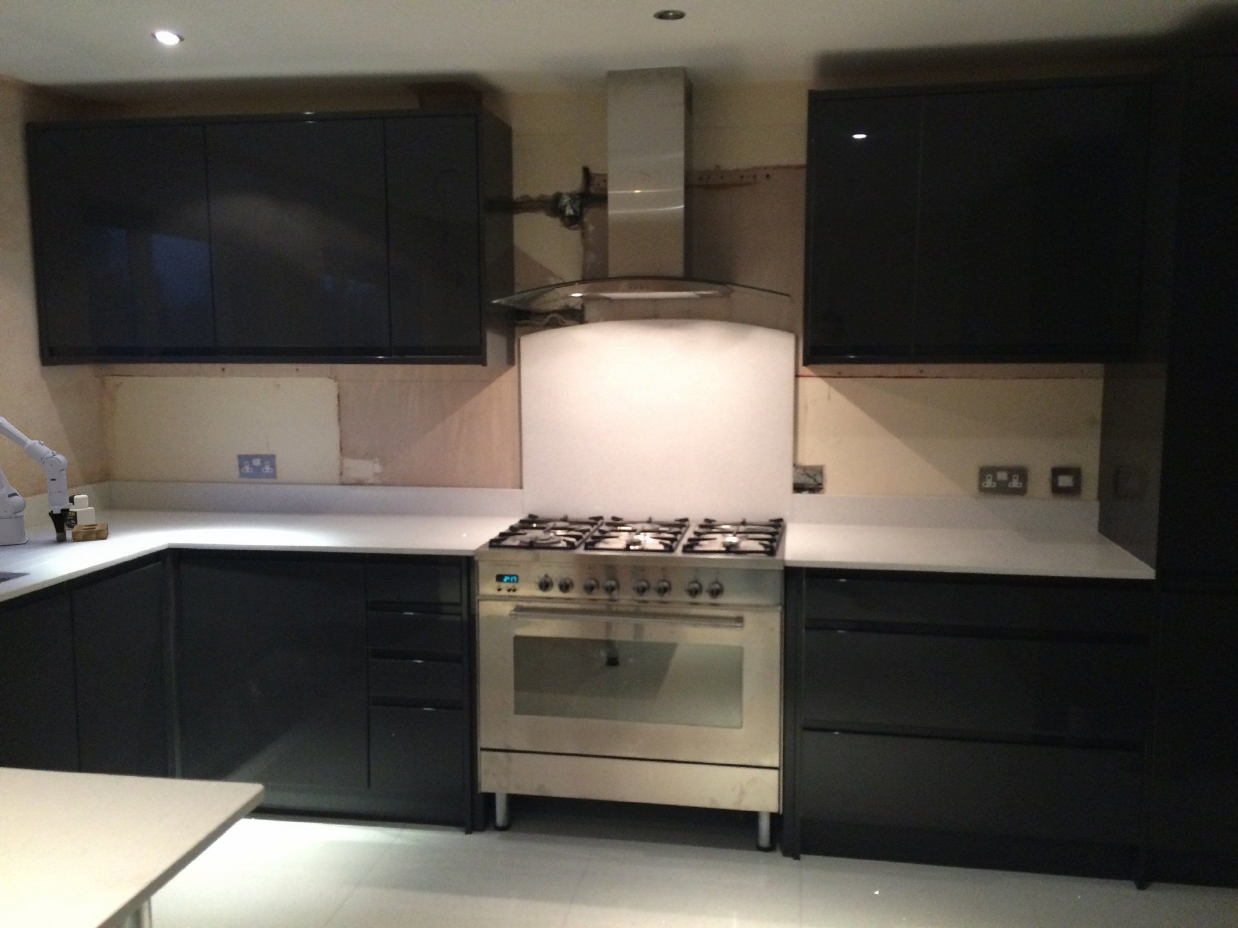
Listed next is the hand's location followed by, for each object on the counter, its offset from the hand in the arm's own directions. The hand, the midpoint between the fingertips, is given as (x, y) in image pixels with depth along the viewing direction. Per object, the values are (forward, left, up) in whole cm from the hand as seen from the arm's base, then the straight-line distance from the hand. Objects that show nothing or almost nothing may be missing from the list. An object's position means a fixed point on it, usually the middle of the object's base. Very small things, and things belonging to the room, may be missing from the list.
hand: (60, 531), depth 336 cm
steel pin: (0, 0, -3) cm, 3 cm away
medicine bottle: (+4, +26, -3) cm, 26 cm away
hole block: (+8, +3, -3) cm, 10 cm away
